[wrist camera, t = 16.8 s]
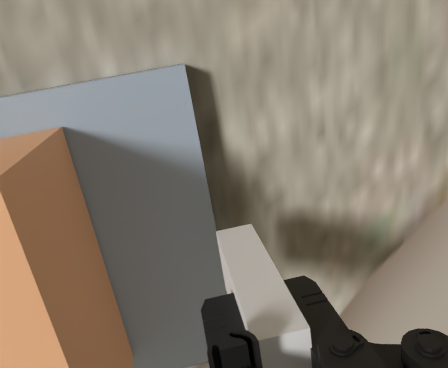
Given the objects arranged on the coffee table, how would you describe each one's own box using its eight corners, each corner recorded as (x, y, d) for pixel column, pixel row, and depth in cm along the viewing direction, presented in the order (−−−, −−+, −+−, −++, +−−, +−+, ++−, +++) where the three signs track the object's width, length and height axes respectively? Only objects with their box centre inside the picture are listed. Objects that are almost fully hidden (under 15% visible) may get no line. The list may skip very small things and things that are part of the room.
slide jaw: (-16, 141, 15) (-141, 206, 9) (61, 126, 16) (-5, 179, 9) (74, 373, 20) (33, 534, 13) (133, 357, 20) (123, 508, 13)
